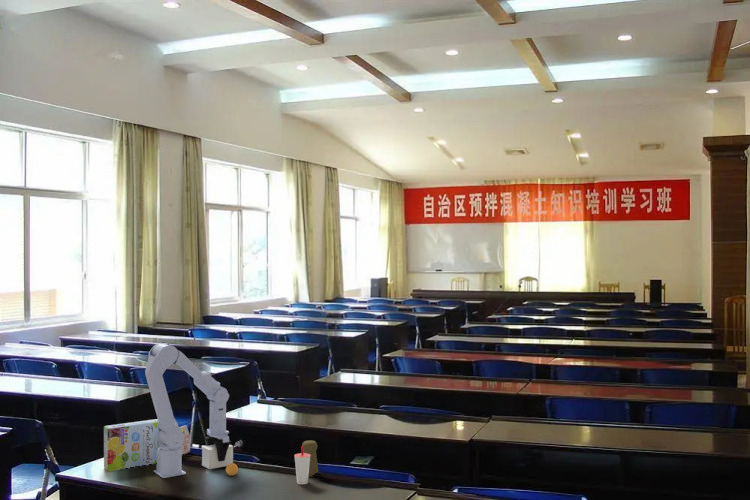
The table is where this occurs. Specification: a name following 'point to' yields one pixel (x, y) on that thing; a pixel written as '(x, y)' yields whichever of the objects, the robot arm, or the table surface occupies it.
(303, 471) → the cup
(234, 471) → the ball
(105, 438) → the snack box
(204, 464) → the cover
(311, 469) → the cork
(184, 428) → the tea bag
